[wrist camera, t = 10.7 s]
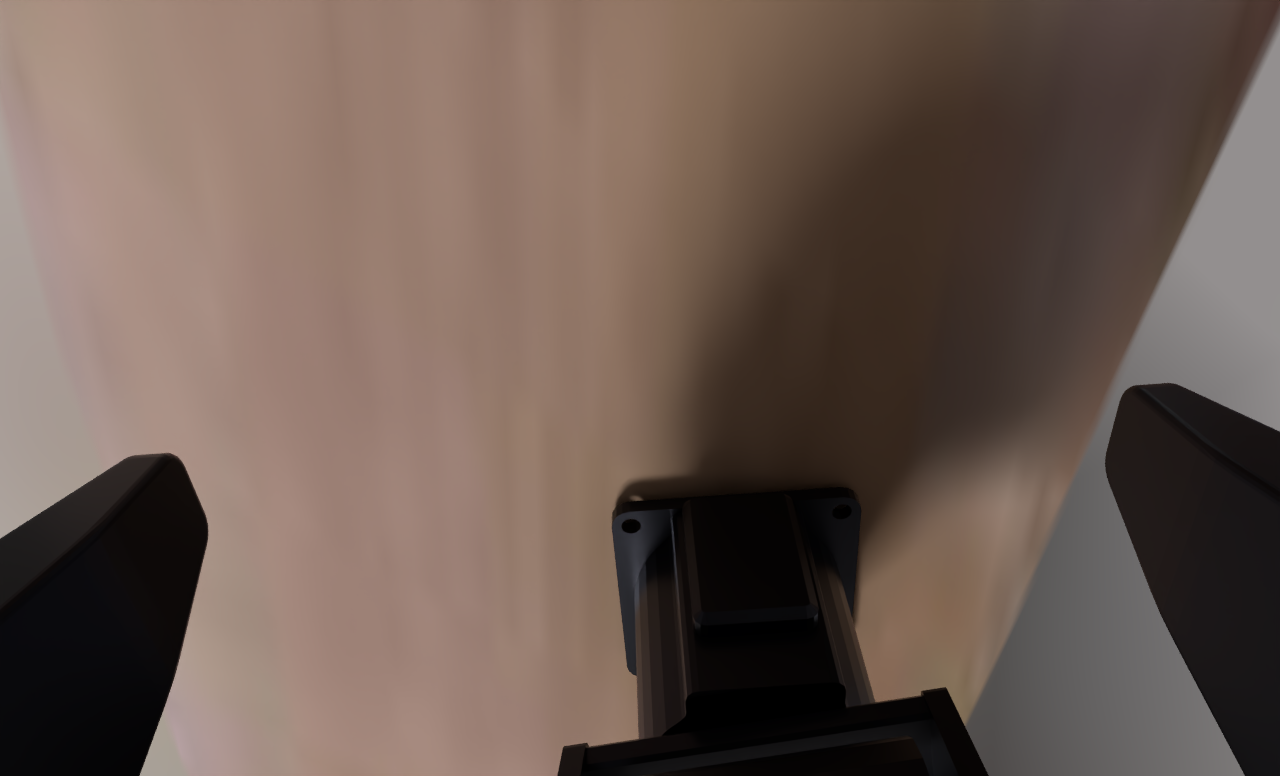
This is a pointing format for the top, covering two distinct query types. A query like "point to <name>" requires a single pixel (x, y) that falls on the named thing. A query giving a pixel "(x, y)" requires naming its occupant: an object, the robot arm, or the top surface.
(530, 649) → the top surface
